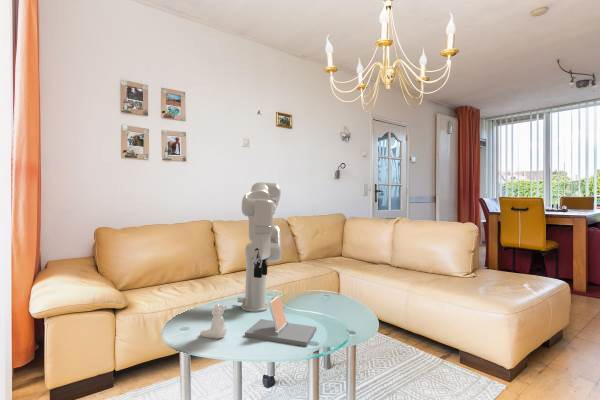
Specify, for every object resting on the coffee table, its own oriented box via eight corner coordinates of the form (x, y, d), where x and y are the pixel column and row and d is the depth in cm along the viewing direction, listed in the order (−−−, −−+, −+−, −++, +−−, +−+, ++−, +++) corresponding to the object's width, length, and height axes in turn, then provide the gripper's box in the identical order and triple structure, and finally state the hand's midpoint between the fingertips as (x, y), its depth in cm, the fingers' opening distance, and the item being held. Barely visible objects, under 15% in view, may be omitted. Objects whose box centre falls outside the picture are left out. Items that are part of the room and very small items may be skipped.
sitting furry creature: (220, 329, 129) (221, 298, 129) (234, 335, 124) (235, 303, 124) (199, 335, 122) (200, 303, 122) (212, 342, 116) (214, 308, 117)
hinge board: (244, 336, 123) (245, 328, 123) (260, 322, 138) (261, 315, 139) (306, 346, 117) (307, 338, 117) (316, 330, 132) (316, 323, 132)
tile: (268, 302, 124) (270, 302, 124) (276, 296, 134) (279, 295, 134) (276, 331, 123) (278, 331, 123) (284, 322, 133) (286, 322, 132)
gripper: (261, 228, 140) (259, 271, 140) (245, 231, 124) (242, 279, 123) (278, 229, 138) (276, 273, 138) (263, 232, 122) (261, 281, 121)
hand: (260, 275), depth 131 cm, fingers open, 5 cm apart
